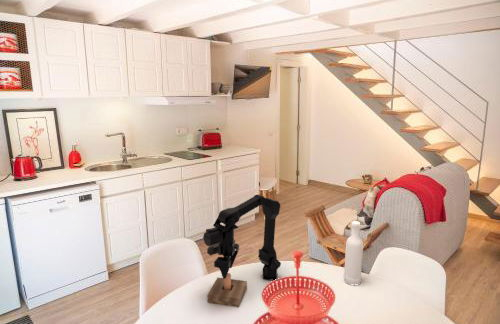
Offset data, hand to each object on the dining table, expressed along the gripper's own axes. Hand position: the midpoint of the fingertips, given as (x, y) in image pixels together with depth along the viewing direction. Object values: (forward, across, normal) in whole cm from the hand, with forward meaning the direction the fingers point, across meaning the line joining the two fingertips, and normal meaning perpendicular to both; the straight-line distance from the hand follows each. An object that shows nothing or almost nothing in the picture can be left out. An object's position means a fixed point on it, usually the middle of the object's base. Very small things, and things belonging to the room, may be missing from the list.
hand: (227, 272), depth 145 cm
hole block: (+11, 0, 0) cm, 11 cm away
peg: (+11, 0, 0) cm, 11 cm away
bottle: (+11, -25, +55) cm, 62 cm away
